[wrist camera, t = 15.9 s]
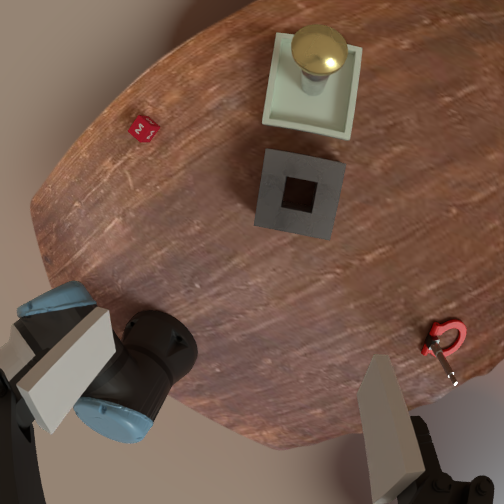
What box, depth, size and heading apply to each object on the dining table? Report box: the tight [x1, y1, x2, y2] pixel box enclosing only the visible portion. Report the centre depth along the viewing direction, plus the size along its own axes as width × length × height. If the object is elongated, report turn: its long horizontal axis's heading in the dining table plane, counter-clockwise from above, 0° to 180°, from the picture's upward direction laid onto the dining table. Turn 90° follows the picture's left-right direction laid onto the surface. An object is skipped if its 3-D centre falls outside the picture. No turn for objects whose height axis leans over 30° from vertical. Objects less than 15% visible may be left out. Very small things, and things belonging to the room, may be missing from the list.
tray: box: [262, 32, 362, 140], centre depth 34 cm, size 12×14×2 cm
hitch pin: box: [291, 25, 348, 96], centre depth 27 cm, size 5×5×16 cm
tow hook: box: [421, 320, 466, 385], centre depth 39 cm, size 8×13×9 cm
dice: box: [128, 115, 160, 142], centre depth 40 cm, size 3×3×3 cm
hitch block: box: [254, 148, 346, 240], centre depth 38 cm, size 10×10×5 cm
